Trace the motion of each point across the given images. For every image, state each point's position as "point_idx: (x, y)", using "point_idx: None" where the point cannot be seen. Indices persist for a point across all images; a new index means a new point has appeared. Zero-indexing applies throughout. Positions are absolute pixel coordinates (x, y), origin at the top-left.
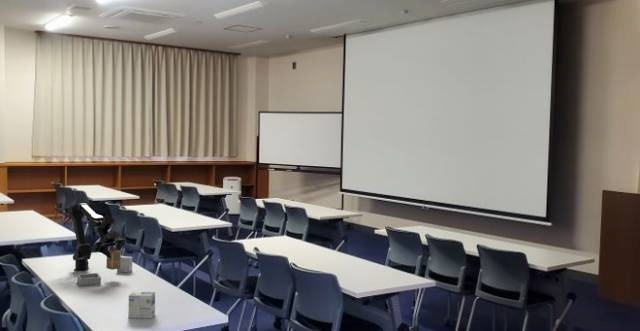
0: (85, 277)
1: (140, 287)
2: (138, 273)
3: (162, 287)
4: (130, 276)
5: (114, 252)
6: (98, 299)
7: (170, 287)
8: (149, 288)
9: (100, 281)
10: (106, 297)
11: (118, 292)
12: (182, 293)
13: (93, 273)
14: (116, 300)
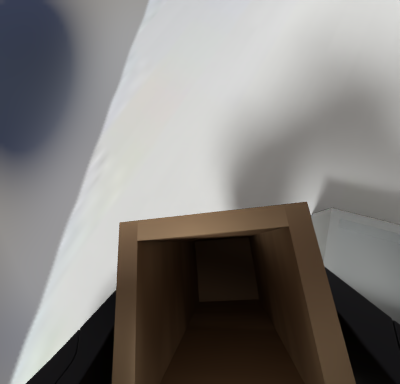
0: None
1: (201, 93)
2: (81, 290)
3: (151, 64)
4: None
5: (253, 209)
6: (387, 33)
7: (135, 55)
8: (185, 71)
9: (321, 212)
10: (353, 42)
11: (292, 74)
12: (151, 2)
13: None
14: (332, 7)
